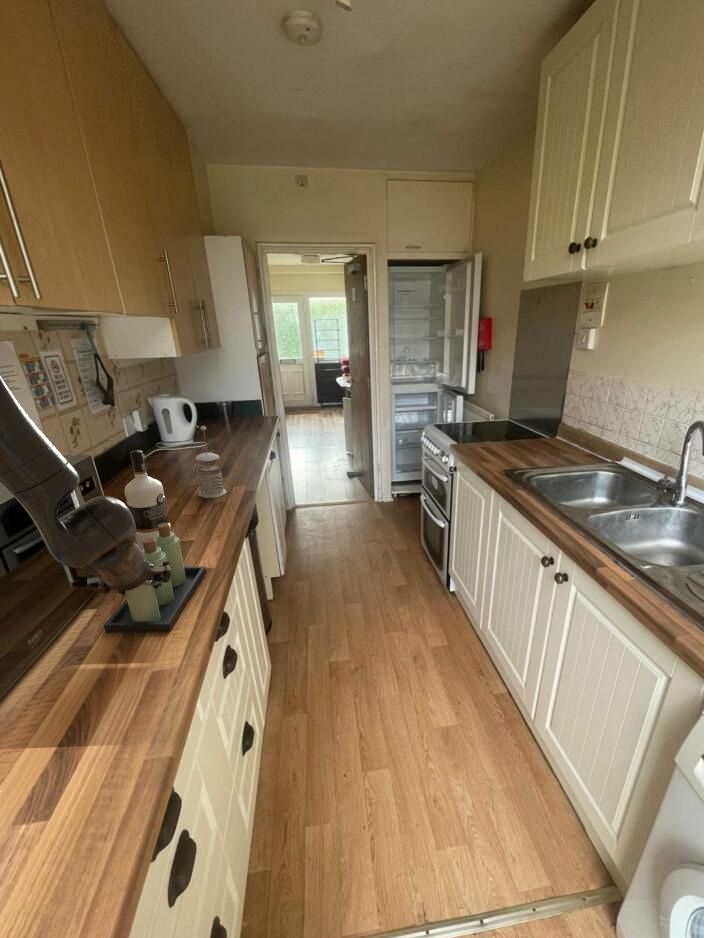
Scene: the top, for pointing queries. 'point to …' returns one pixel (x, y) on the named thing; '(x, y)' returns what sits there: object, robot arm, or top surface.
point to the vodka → (145, 501)
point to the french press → (209, 475)
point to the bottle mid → (157, 559)
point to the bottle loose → (143, 604)
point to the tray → (168, 611)
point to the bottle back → (171, 553)
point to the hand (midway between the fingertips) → (140, 586)
